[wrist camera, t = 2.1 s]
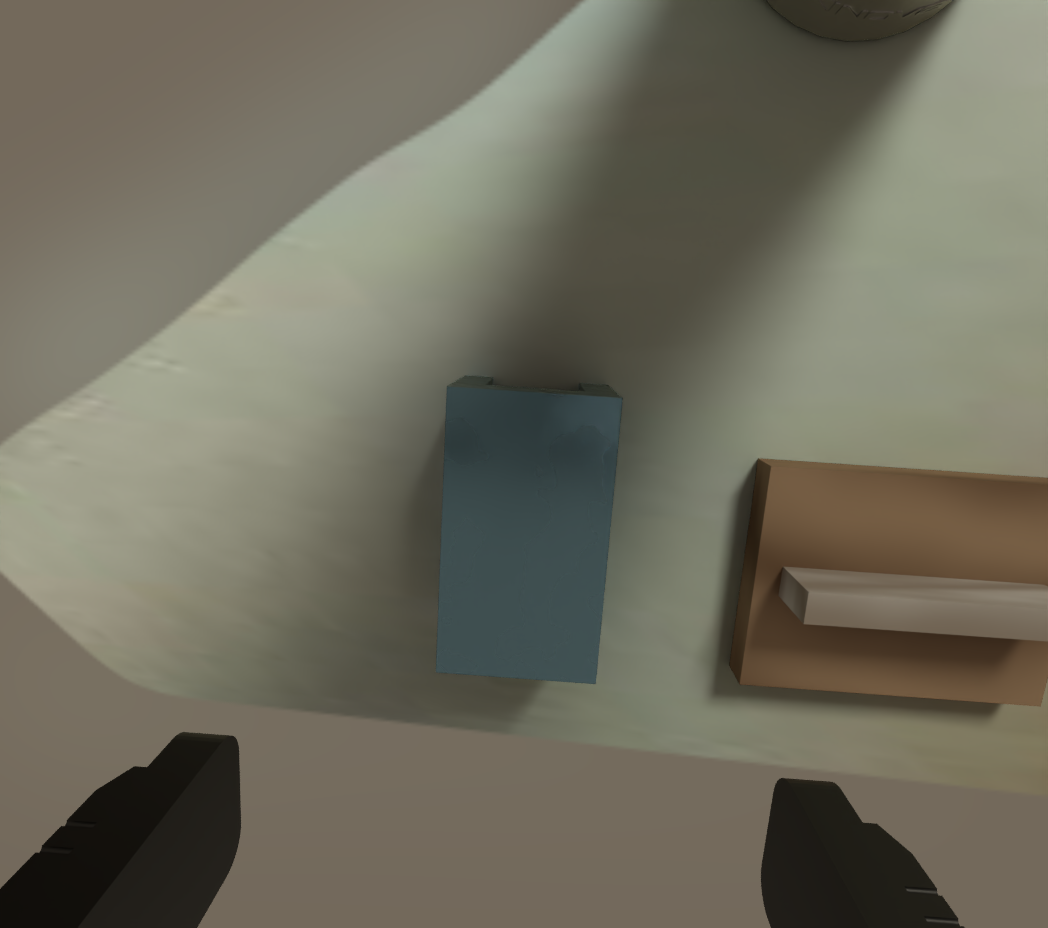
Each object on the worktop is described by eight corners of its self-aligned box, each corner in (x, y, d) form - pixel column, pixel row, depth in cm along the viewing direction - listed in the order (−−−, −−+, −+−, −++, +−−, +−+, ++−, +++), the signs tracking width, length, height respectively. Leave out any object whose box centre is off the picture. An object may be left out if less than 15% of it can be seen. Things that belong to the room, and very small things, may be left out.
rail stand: (758, 458, 26) (796, 481, 22) (1063, 479, 26) (1157, 506, 22) (729, 665, 28) (759, 720, 24) (1013, 686, 27) (1092, 745, 24)
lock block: (465, 375, 26) (446, 386, 21) (607, 384, 26) (622, 397, 21) (454, 611, 28) (436, 672, 23) (586, 621, 28) (595, 684, 23)
